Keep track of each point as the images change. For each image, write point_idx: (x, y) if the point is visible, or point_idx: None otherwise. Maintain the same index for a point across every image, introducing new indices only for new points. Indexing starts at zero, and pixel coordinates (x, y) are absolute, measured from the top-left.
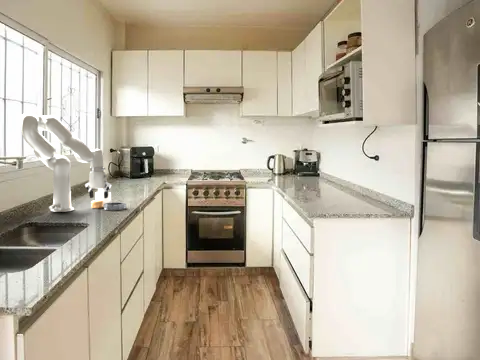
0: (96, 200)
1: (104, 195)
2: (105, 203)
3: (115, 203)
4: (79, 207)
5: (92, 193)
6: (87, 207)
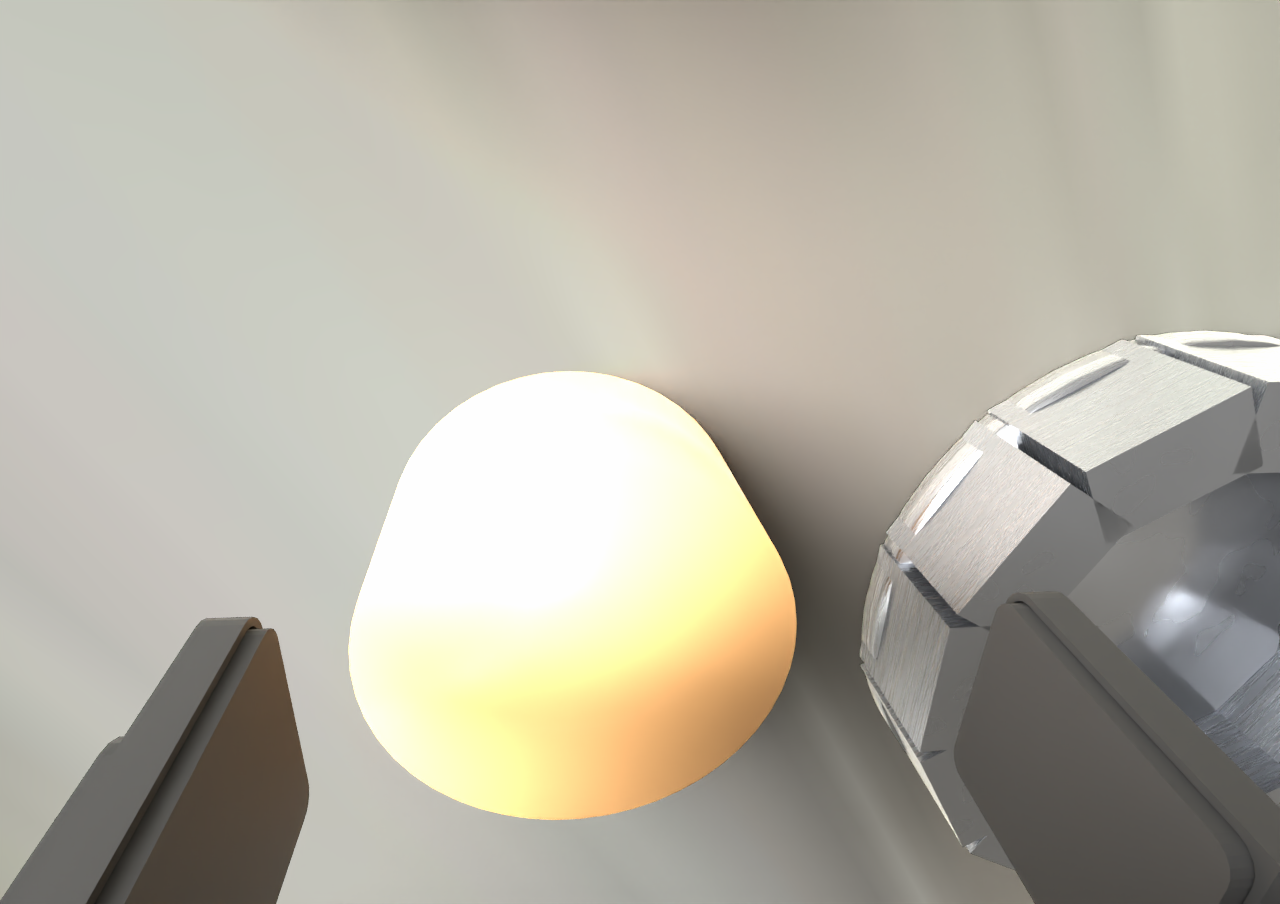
0: (463, 544)
1: (1026, 866)
2: (937, 713)
3: (1181, 486)
4: (64, 685)
5: (203, 881)
6: (295, 620)
